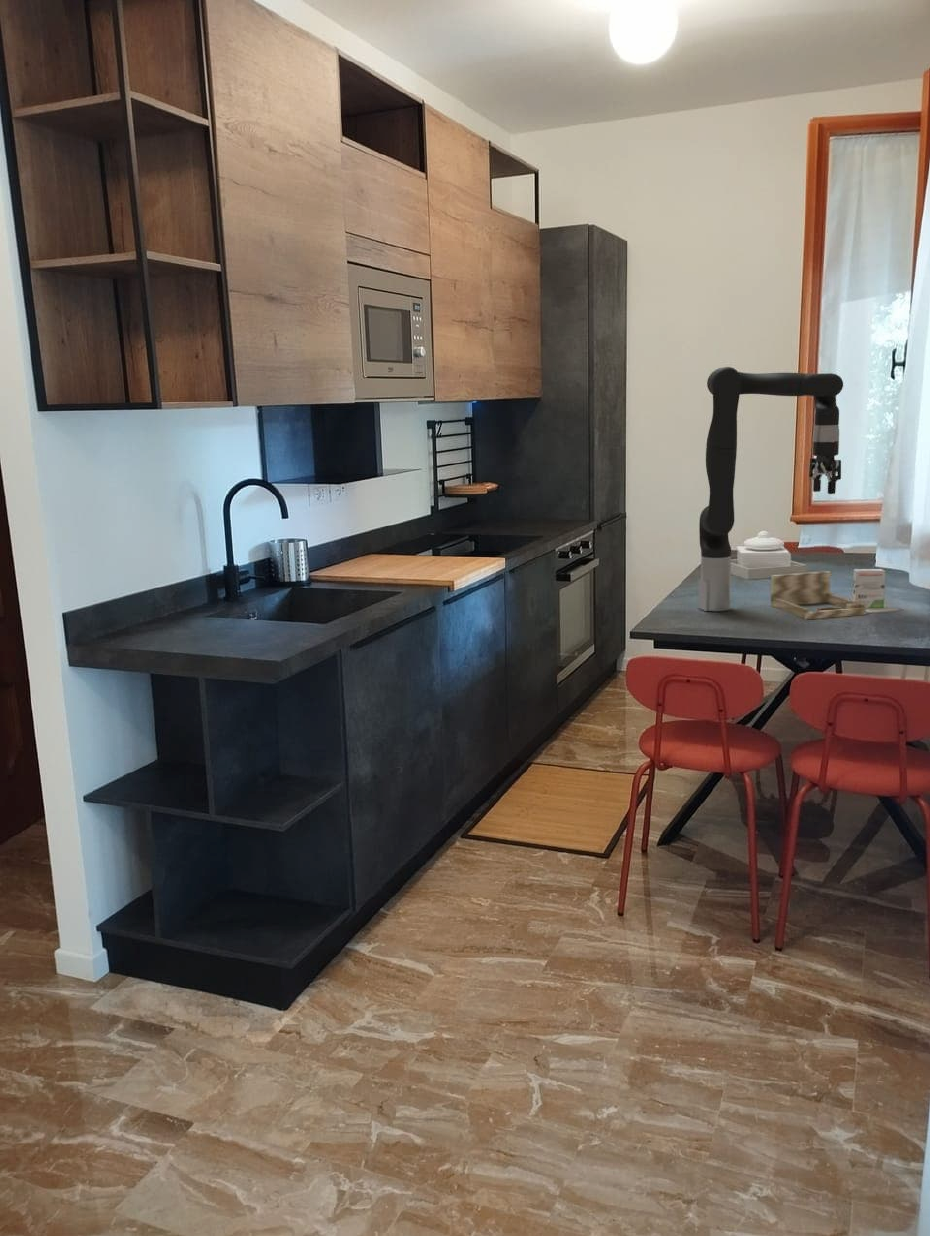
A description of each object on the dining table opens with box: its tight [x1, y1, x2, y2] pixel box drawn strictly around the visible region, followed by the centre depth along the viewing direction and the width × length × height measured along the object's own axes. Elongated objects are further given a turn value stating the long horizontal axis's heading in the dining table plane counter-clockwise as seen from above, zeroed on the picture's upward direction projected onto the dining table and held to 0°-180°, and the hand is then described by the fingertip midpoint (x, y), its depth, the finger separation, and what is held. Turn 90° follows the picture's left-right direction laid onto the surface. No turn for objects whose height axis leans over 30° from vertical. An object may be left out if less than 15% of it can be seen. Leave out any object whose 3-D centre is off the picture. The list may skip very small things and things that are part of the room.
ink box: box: [852, 568, 886, 608], centre depth 314 cm, size 9×5×12 cm, turn 80°
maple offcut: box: [846, 603, 859, 609], centre depth 307 cm, size 3×2×3 cm
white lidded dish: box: [735, 530, 792, 568], centre depth 381 cm, size 18×18×16 cm
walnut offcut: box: [817, 606, 843, 611], centre depth 309 cm, size 7×2×2 cm
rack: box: [770, 570, 867, 620], centre depth 313 cm, size 20×22×10 cm
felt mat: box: [866, 604, 900, 615], centre depth 315 cm, size 12×14×1 cm
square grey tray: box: [731, 558, 808, 581], centre depth 383 cm, size 23×23×4 cm
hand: (824, 492), depth 313 cm, fingers open, 8 cm apart
